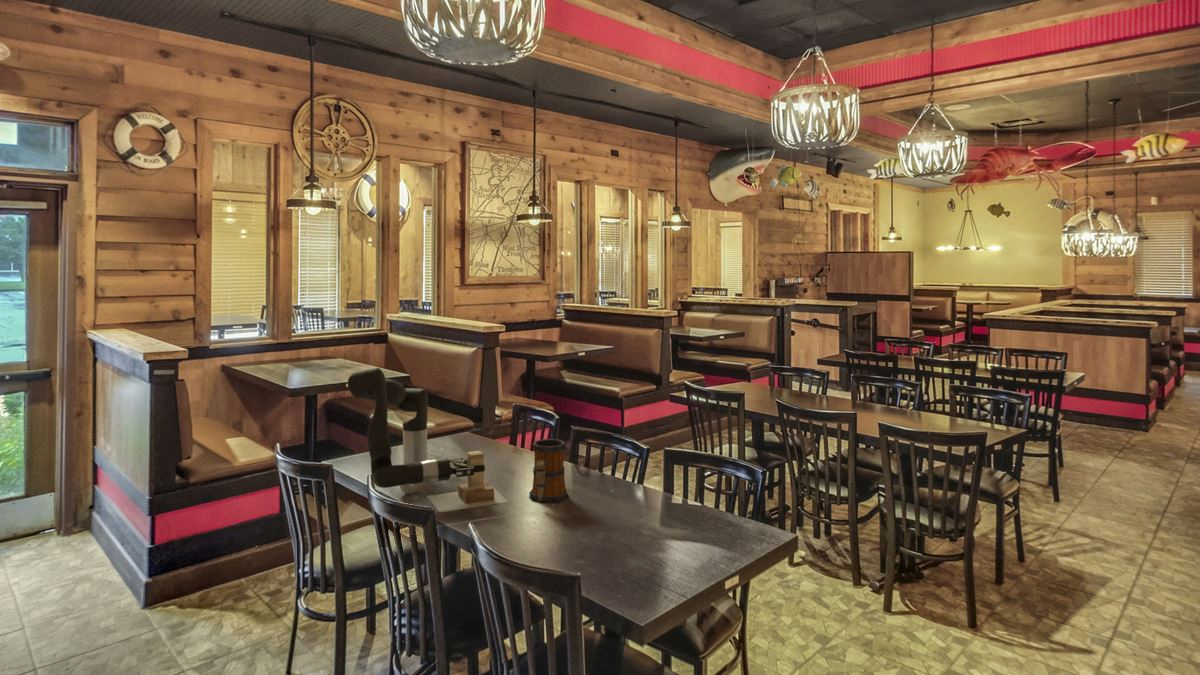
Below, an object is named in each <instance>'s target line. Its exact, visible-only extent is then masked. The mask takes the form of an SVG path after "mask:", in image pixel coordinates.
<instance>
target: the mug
mask: <svg viewBox="0 0 1200 675" xmlns="http://www.w3.org/2000/svg"><path fill="white" fill-rule="evenodd" d="M531 446H532V448H533V451H534V466H533V473H532V474H533V478H532V479H533V480H532V488H531V489H530V491H529V496H528V499H529V500H530V501H532V503H538V504H547V505H548V504H556V505H558V504H557V503H560V504H563V503H562V502H564V501H566V500H567V501H569V500H570V495H569V493H568V489H567V488H566V479H565V466H564V450H565V449H566V448H567V446H566V444H565V441H563V440H562V439H556V438H543V439H538V440H535V441H533V443H532V445H531ZM568 499H569V500H568ZM567 501H566V502H567ZM564 503H565V502H564Z"/></svg>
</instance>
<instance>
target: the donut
mask: <svg viewBox="0 0 1200 675" xmlns="http://www.w3.org/2000/svg"><path fill="white" fill-rule="evenodd" d="M423 485H424V483H416V484H404V485H399V486H398V487H399V488H400V490H401V492H403V493H404V494H405V495H412V494H416V493H418V492H419V491H420V490H421V489H422V487H423Z"/></svg>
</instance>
